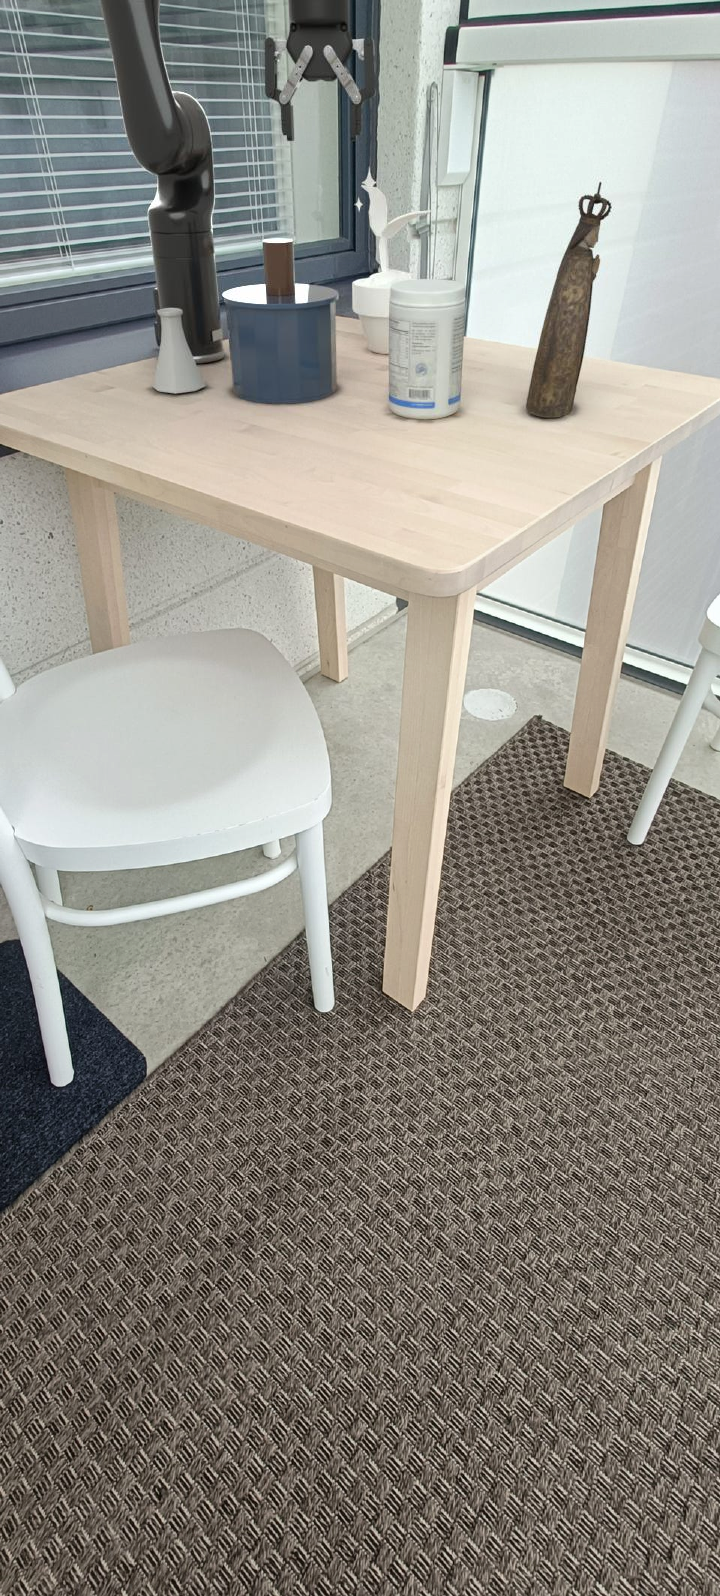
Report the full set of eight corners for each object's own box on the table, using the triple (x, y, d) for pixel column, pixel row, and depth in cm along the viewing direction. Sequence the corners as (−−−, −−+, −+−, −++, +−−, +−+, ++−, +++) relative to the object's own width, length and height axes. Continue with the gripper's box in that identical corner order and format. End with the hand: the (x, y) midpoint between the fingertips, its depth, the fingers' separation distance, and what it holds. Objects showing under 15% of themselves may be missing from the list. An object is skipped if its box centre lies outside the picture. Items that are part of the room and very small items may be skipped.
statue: (589, 417, 114) (626, 184, 98) (534, 421, 113) (562, 185, 97) (564, 400, 120) (595, 178, 105) (512, 402, 119) (535, 179, 104)
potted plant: (338, 352, 143) (335, 164, 127) (378, 339, 150) (379, 160, 135) (403, 363, 137) (408, 167, 122) (441, 349, 145) (450, 163, 129)
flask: (143, 388, 125) (132, 310, 119) (183, 379, 129) (174, 303, 123) (174, 398, 121) (164, 317, 115) (215, 388, 126) (207, 309, 119)
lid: (198, 306, 116) (192, 242, 112) (272, 289, 126) (269, 230, 122) (290, 319, 109) (287, 252, 105) (361, 300, 119) (361, 238, 115)
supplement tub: (433, 398, 121) (439, 276, 112) (474, 414, 115) (483, 286, 106) (373, 407, 117) (374, 282, 108) (412, 425, 111) (417, 294, 102)
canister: (212, 393, 123) (202, 301, 116) (277, 372, 133) (272, 285, 125) (293, 409, 117) (289, 313, 110) (355, 386, 126) (355, 295, 119)
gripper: (378, -24, 108) (377, 140, 119) (265, -22, 109) (273, 139, 120) (374, -30, 103) (373, 142, 113) (254, -29, 104) (264, 142, 114)
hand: (322, 140), depth 116 cm, fingers open, 8 cm apart
